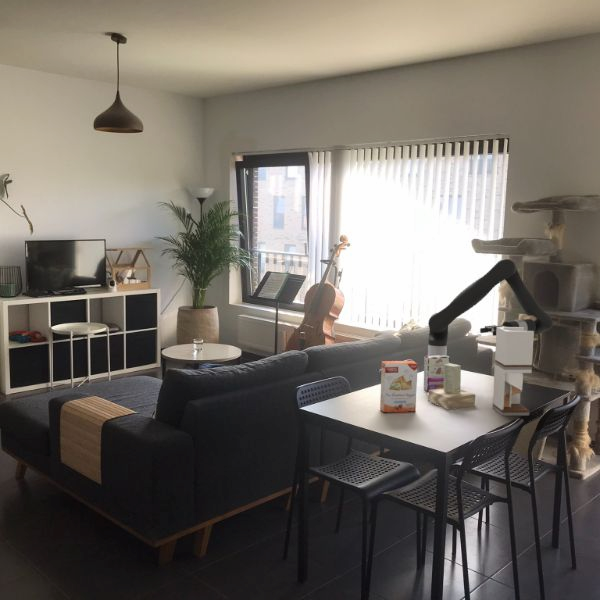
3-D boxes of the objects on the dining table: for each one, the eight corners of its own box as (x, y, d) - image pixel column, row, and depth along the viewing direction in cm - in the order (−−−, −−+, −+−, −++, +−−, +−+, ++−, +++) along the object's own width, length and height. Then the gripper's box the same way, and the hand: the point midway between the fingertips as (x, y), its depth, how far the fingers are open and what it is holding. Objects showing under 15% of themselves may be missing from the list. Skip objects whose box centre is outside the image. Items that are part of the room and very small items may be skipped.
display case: (502, 415, 262) (506, 331, 257) (492, 408, 272) (496, 327, 268) (529, 415, 262) (533, 331, 258) (518, 407, 273) (523, 327, 269)
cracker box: (383, 413, 262) (385, 363, 260) (379, 409, 268) (381, 360, 266) (416, 412, 265) (418, 363, 262) (411, 408, 270) (413, 360, 268)
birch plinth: (428, 401, 282) (428, 390, 281) (453, 397, 288) (454, 386, 287) (448, 409, 269) (449, 397, 269) (474, 405, 275) (475, 394, 275)
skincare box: (460, 392, 277) (461, 365, 275) (453, 394, 274) (454, 366, 273) (449, 389, 282) (450, 362, 281) (442, 391, 280) (443, 363, 278)
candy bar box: (444, 388, 305) (445, 354, 303) (449, 390, 300) (450, 356, 298) (422, 389, 302) (423, 355, 300) (427, 392, 297) (428, 357, 295)
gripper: (503, 318, 302) (476, 321, 295) (525, 322, 289) (497, 325, 282) (504, 334, 302) (476, 337, 296) (525, 338, 289) (497, 342, 283)
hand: (486, 332), depth 289 cm, fingers open, 8 cm apart
